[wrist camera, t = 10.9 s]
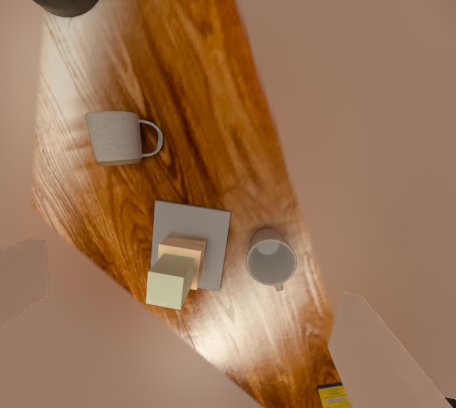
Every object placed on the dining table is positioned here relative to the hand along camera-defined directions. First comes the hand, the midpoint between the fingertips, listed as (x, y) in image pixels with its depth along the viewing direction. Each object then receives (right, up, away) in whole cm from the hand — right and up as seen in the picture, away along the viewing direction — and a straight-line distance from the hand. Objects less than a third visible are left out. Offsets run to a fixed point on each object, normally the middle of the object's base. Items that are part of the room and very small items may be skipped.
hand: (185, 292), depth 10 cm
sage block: (-6, -7, +27) cm, 29 cm away
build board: (-6, -4, +34) cm, 35 cm away
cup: (+10, -4, +33) cm, 34 cm away
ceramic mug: (-15, +16, +31) cm, 38 cm away
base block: (-6, -5, +33) cm, 34 cm away
